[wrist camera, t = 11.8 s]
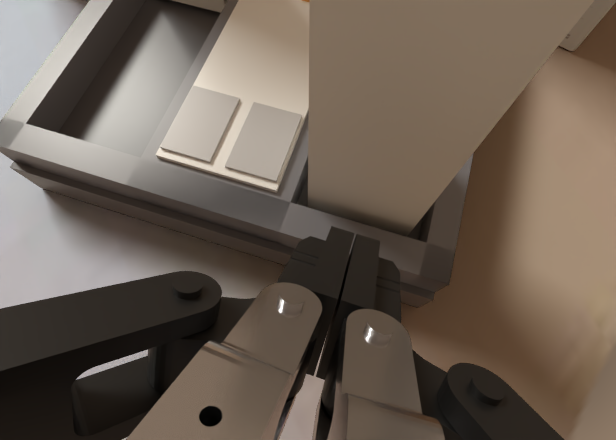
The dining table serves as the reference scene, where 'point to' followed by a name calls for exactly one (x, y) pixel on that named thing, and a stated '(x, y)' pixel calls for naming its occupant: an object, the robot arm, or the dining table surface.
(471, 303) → the dining table surface
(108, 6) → the grey tray
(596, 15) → the supplement box
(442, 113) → the cream tall block
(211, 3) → the tab far
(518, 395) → the robot arm
